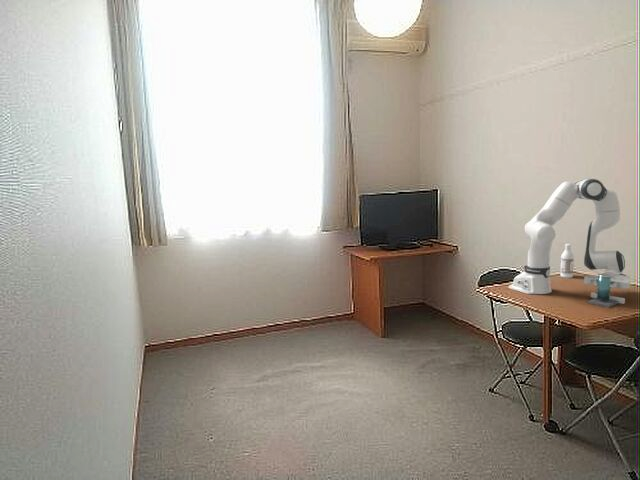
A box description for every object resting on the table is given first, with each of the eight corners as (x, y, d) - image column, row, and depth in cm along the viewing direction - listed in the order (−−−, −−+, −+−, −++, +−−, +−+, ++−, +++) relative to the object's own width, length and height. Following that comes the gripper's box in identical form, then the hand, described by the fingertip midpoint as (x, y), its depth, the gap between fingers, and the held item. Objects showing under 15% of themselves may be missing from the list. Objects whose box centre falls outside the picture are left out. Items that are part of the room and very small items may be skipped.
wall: (590, 297, 256) (590, 292, 256) (591, 296, 257) (592, 292, 257) (623, 303, 243) (623, 299, 243) (624, 303, 244) (624, 298, 244)
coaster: (587, 303, 247) (587, 300, 247) (597, 299, 253) (597, 296, 252) (608, 307, 239) (608, 305, 239) (618, 303, 244) (618, 301, 244)
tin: (594, 298, 246) (595, 275, 244) (600, 296, 249) (601, 273, 247) (606, 300, 241) (607, 277, 239) (611, 298, 245) (613, 275, 243)
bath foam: (569, 278, 294) (570, 245, 290) (558, 276, 300) (559, 244, 296) (575, 276, 298) (576, 244, 294) (564, 274, 303) (565, 242, 300)
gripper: (587, 271, 260) (580, 276, 250) (632, 275, 247) (627, 282, 236) (586, 282, 261) (580, 288, 251) (631, 287, 248) (626, 294, 237)
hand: (603, 285), depth 243 cm, fingers closed on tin, 5 cm apart
